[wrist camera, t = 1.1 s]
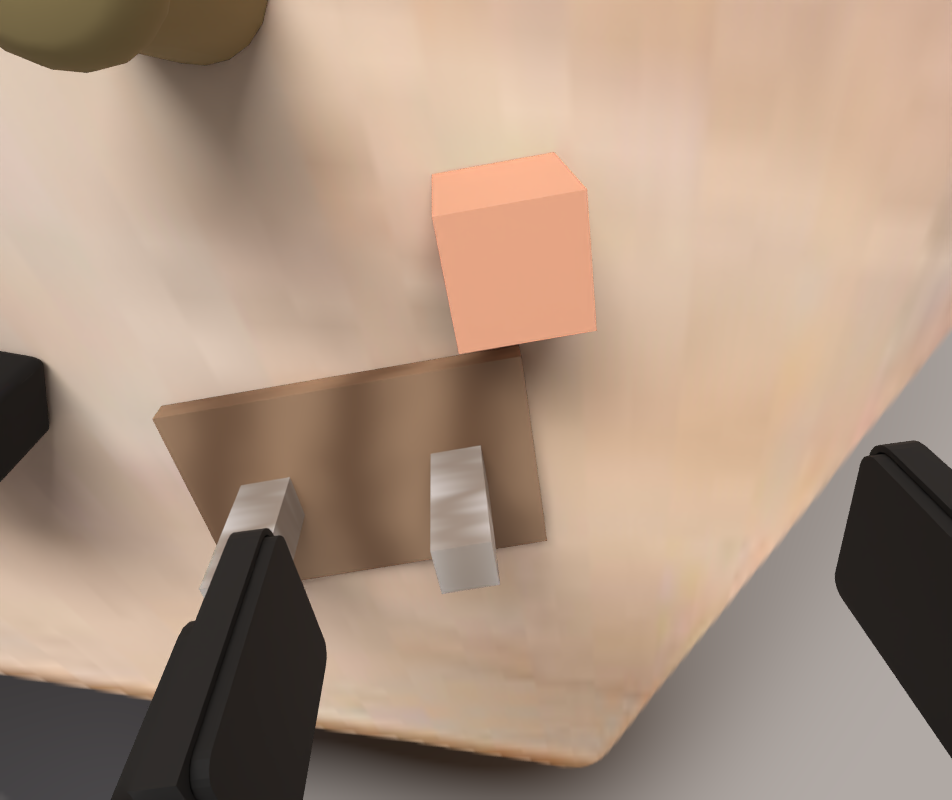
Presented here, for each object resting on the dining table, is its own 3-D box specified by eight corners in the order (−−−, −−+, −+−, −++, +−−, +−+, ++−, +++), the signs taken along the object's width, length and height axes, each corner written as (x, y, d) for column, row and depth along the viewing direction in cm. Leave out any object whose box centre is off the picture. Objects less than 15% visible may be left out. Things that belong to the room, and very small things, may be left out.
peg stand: (518, 344, 31) (543, 440, 24) (543, 526, 38) (569, 643, 30) (161, 406, 32) (85, 516, 25) (244, 574, 38) (202, 701, 31)
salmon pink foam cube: (554, 152, 27) (586, 189, 21) (564, 269, 29) (596, 330, 24) (432, 174, 27) (432, 217, 21) (453, 289, 30) (458, 354, 24)
